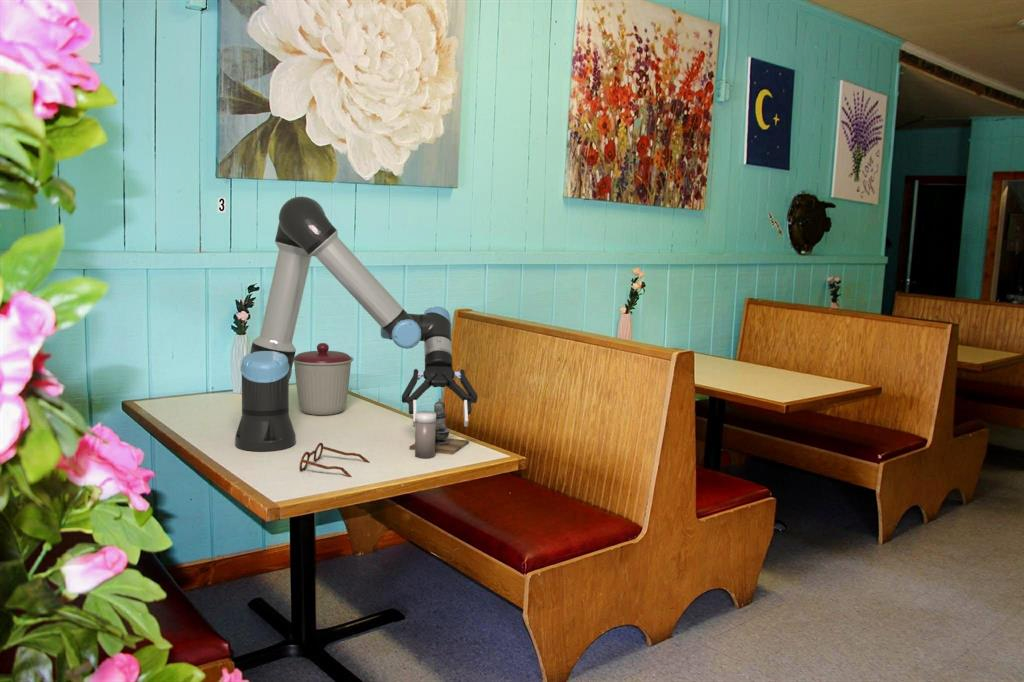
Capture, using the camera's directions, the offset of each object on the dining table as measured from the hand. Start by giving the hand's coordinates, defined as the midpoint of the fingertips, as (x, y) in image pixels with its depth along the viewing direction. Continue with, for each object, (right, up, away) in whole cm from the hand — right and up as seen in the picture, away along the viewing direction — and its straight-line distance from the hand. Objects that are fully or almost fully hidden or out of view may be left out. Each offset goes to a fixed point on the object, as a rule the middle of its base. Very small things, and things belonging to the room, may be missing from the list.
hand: (440, 424), depth 230 cm
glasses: (-24, -9, -19) cm, 31 cm away
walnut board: (-1, -6, +3) cm, 7 cm away
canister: (-39, 0, +39) cm, 55 cm away
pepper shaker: (-3, -7, -6) cm, 10 cm away
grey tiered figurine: (-1, -5, +3) cm, 6 cm away
